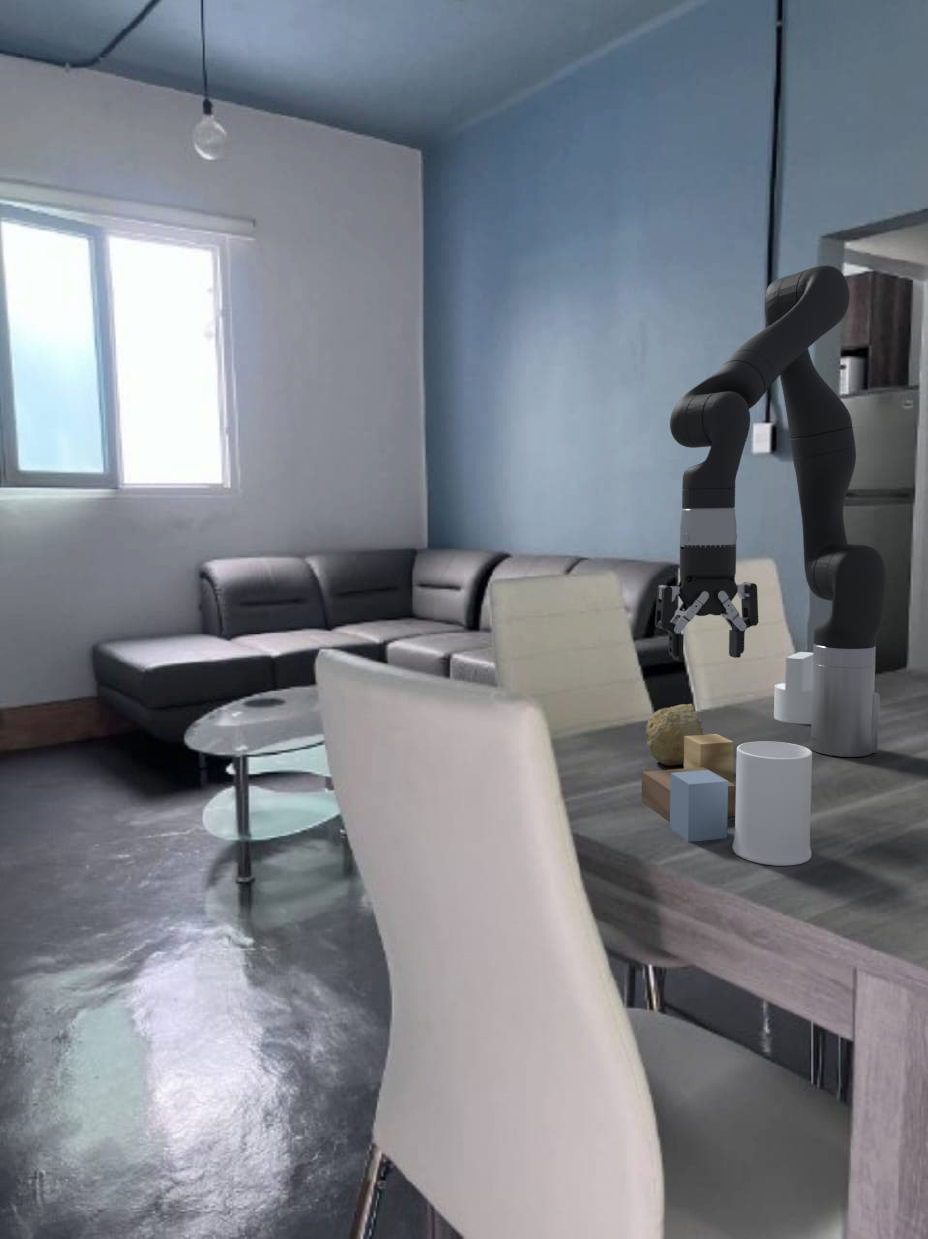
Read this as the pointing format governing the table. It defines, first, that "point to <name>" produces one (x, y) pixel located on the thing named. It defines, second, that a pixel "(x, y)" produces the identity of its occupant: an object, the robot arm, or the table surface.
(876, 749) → the robot arm
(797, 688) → the base with upright slab
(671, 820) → the slate block
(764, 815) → the mug
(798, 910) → the table surface
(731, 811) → the walnut slab
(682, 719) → the coral
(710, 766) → the oak block
